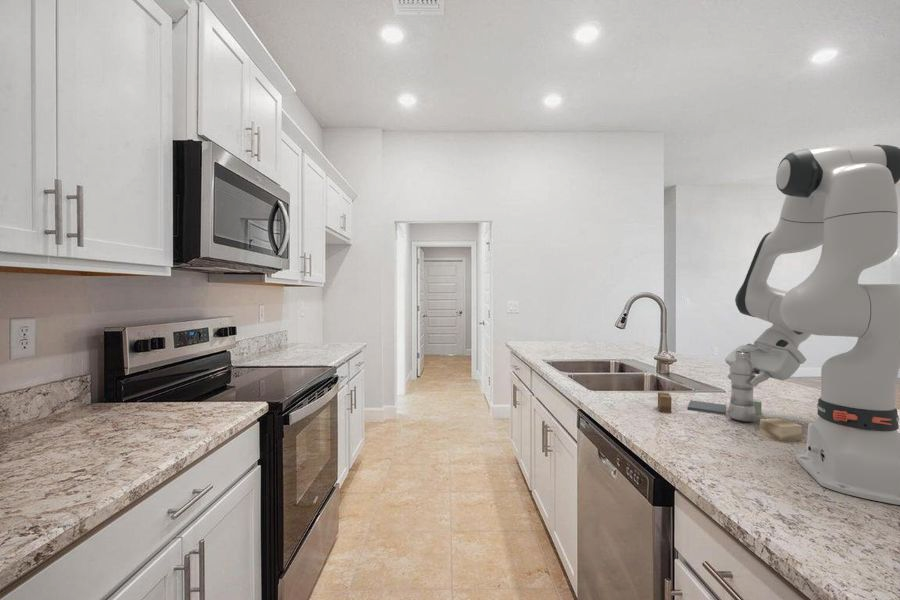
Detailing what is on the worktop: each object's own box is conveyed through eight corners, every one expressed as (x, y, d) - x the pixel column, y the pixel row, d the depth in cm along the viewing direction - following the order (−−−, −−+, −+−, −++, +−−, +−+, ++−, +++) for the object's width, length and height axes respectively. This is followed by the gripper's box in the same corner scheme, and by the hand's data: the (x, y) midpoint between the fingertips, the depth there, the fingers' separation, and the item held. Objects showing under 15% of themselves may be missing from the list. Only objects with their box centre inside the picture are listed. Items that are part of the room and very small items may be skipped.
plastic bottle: (754, 419, 122) (755, 351, 122) (756, 425, 116) (757, 354, 116) (727, 415, 126) (729, 349, 125) (728, 421, 120) (730, 352, 119)
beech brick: (801, 441, 105) (801, 425, 105) (781, 442, 104) (781, 426, 104) (779, 433, 111) (779, 418, 111) (759, 434, 110) (759, 419, 110)
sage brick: (761, 415, 126) (761, 402, 126) (745, 413, 129) (745, 400, 129) (760, 412, 130) (760, 399, 130) (744, 410, 132) (745, 397, 132)
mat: (725, 414, 127) (725, 412, 127) (687, 409, 132) (687, 406, 132) (725, 407, 135) (726, 404, 135) (690, 402, 140) (690, 400, 140)
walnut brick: (671, 413, 128) (671, 397, 128) (660, 412, 129) (660, 396, 129) (668, 408, 134) (668, 392, 134) (657, 407, 135) (657, 392, 135)
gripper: (738, 336, 131) (708, 367, 131) (797, 344, 111) (761, 381, 110) (752, 350, 132) (721, 381, 131) (812, 361, 111) (776, 398, 111)
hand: (740, 381), depth 121 cm, fingers open, 6 cm apart
